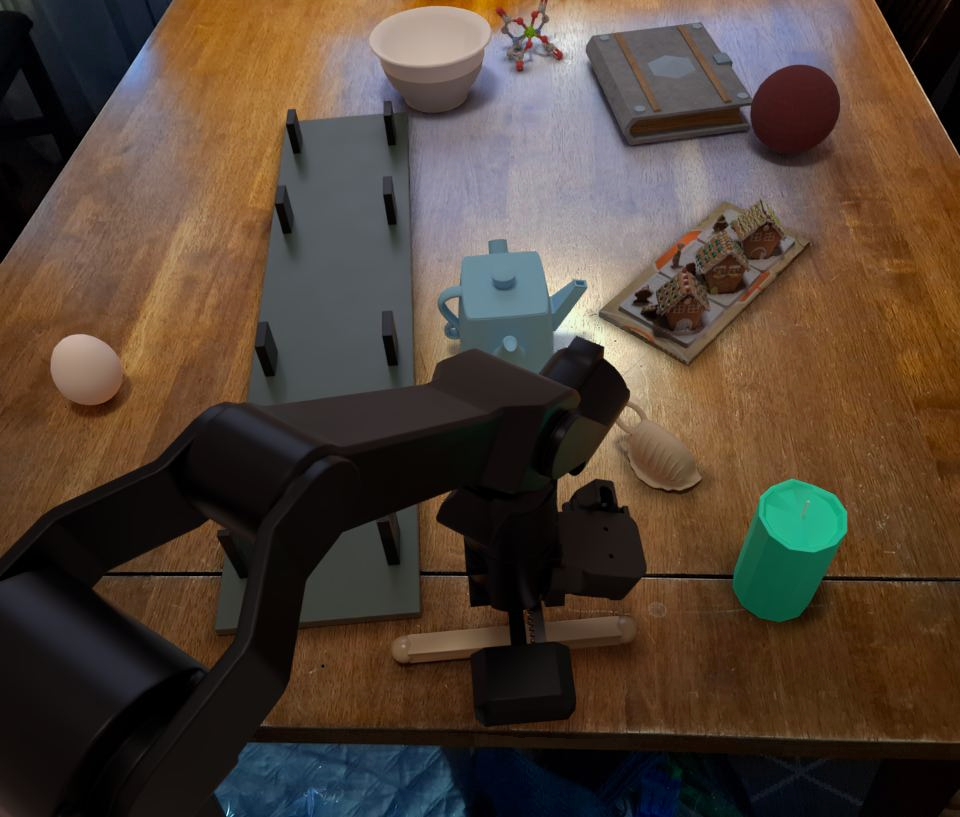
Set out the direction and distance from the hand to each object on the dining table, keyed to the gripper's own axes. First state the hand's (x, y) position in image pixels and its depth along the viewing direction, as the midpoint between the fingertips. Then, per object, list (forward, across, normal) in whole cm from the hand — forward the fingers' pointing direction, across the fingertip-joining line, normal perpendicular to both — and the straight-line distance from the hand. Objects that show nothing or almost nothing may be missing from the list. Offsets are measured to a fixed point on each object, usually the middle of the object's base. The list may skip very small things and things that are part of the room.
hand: (514, 633), depth 63 cm
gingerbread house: (+2, +39, -24) cm, 46 cm away
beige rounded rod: (+2, 0, 0) cm, 2 cm away
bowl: (+2, +80, +3) cm, 80 cm away
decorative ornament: (+2, +16, -14) cm, 21 cm away
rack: (+2, +39, +15) cm, 42 cm away
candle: (+2, +3, -20) cm, 21 cm away
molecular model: (+2, +88, -11) cm, 89 cm away
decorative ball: (+2, +61, -39) cm, 73 cm away
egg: (+2, +30, +38) cm, 48 cm away
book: (+2, +75, -27) cm, 80 cm away
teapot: (+2, +31, -3) cm, 31 cm away
